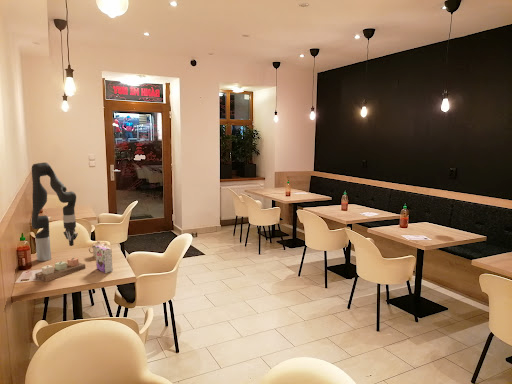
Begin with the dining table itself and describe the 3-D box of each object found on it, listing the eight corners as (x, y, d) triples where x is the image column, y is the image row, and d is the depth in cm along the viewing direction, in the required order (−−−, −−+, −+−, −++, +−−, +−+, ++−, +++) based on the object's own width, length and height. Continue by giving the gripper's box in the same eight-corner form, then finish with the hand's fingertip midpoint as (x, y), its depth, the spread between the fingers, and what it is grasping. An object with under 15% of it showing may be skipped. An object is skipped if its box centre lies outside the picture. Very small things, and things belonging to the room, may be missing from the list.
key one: (42, 273, 249) (41, 267, 249) (49, 271, 254) (48, 264, 253) (46, 274, 247) (46, 268, 246) (54, 272, 251) (53, 266, 250)
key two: (55, 269, 257) (54, 263, 256) (62, 267, 261) (61, 260, 261) (59, 270, 254) (59, 264, 254) (66, 268, 259) (66, 262, 258)
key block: (35, 278, 249) (35, 273, 249) (74, 265, 273) (74, 261, 273) (46, 281, 243) (46, 276, 243) (85, 268, 267) (85, 264, 267)
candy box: (96, 268, 266) (94, 245, 264) (104, 266, 270) (103, 244, 268) (104, 273, 256) (103, 249, 254) (113, 271, 260) (111, 248, 258)
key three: (67, 265, 265) (67, 259, 264) (74, 263, 269) (73, 257, 268) (72, 266, 262) (71, 260, 262) (78, 264, 266) (78, 258, 266)
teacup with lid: (106, 253, 301) (105, 239, 300) (105, 257, 293) (104, 242, 291) (90, 254, 298) (89, 240, 297) (88, 258, 290) (87, 243, 288)
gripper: (58, 221, 261) (60, 245, 264) (70, 223, 255) (72, 248, 257) (68, 219, 268) (70, 243, 270) (80, 220, 261) (82, 245, 263)
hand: (71, 245), depth 264 cm, fingers closed
